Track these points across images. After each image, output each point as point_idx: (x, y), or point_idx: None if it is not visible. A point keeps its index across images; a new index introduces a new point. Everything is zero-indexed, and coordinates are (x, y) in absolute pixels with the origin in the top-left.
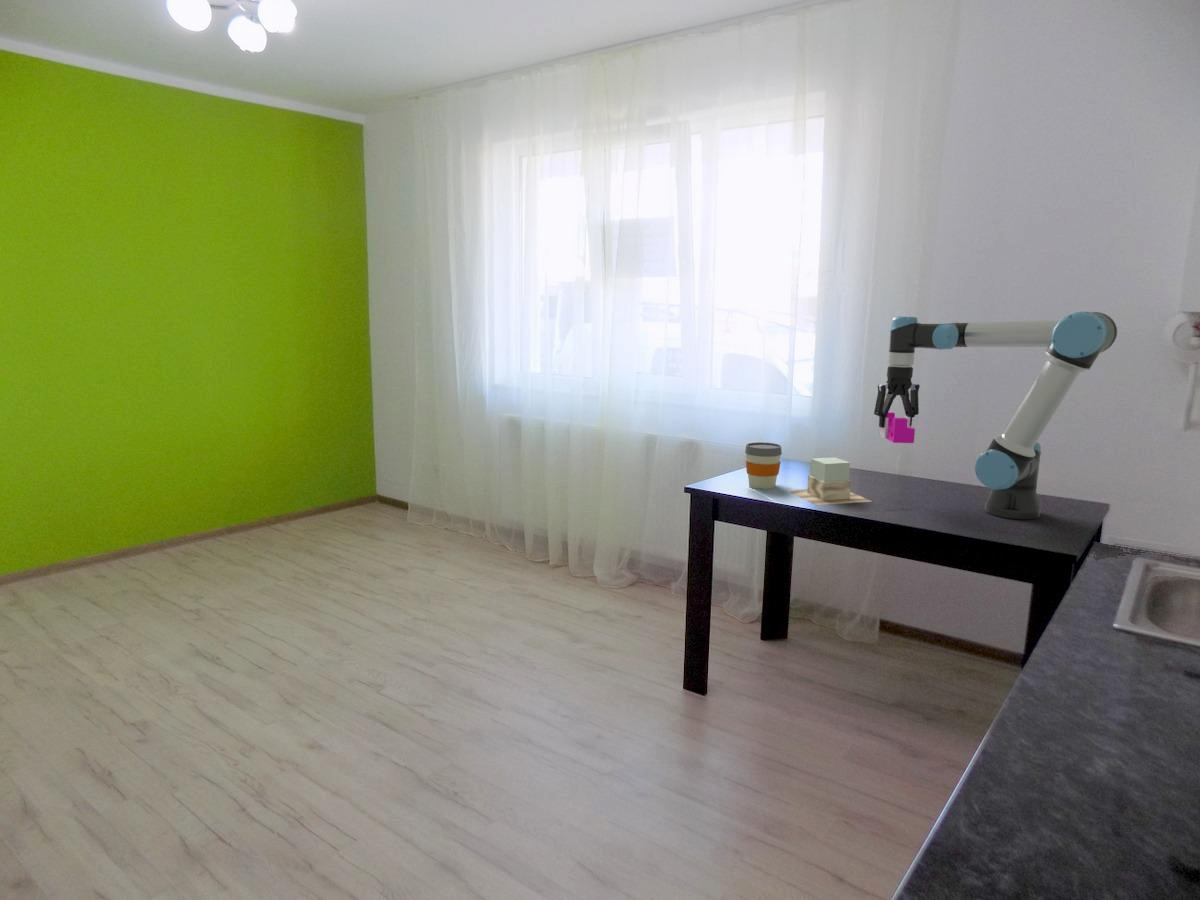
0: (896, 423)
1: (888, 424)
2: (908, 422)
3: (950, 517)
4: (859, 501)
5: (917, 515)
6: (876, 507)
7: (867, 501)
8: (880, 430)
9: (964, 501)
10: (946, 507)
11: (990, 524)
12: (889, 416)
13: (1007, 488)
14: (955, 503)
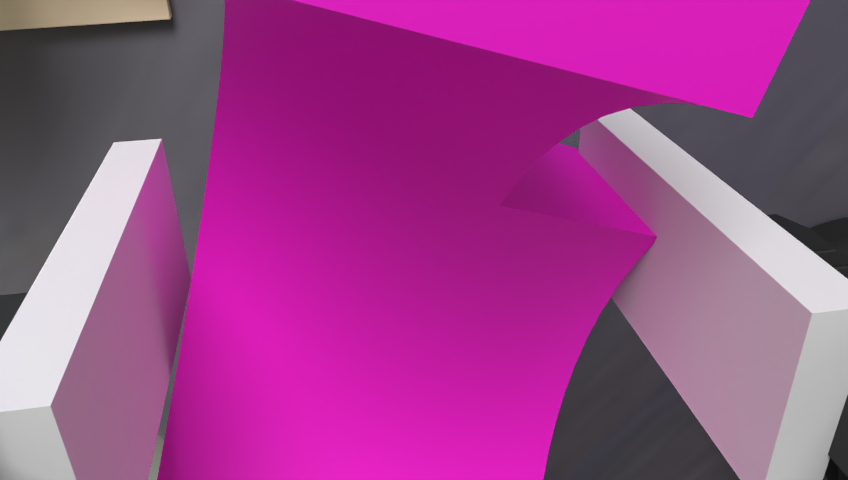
0: None
1: (344, 136)
2: (706, 406)
3: None
4: (61, 8)
5: None
6: (156, 131)
7: (128, 19)
8: (85, 197)
9: (811, 79)
10: None
11: (574, 464)
12: (490, 54)
13: (826, 473)
14: (722, 115)
